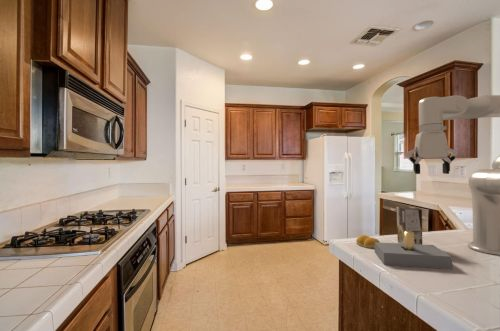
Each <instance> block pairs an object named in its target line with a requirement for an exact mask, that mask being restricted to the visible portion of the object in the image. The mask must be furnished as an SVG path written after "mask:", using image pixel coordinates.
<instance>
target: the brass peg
mask: <svg viewBox="0 0 500 331" xmlns="http://www.w3.org/2000/svg"><path fill="white" fill-rule="evenodd" d="M404 250H405V251H414V232H412V231H404Z"/></svg>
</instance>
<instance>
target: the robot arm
mask: <svg viewBox="0 0 500 331" xmlns="http://www.w3.org/2000/svg"><path fill="white" fill-rule="evenodd" d="M481 118H482V119H483V118H500V95H499V94H497V95H496V94H493V95H492V94H490V95H489V94H488V95H487V94H486V95H482V96H475V97H472V98H467V97H465V96H463V95H456V94H454V95H450V96H442V97H441V96H429V97H425V98H422V99H420V100H419V101H418V133H417V134H416V135H415V141H414V148H413V149H411V150H409V151H407V152H405V155H406V157H407V159H408V160H409V161H410V162H411V164H413V172H414V174H415V175H420V174H421V164H420V161H422V160H437V159H440V160H441V161H442V162H443V163H442V174H445V175H446V174H447V175H448V174H450V172H451V163H452V162H453V161H454V160H455V159H456V157H457V155H458V154H459V152H458V151H457V150H456V149H453V148H450V147H449V145H448V139H447V136H446V132H445V130H447V128H448V127H447V126H445V125H444V121H449V120H450V121H451V120H463V119H465V120H466V119H467V120H468V119H481ZM449 153H450V156H449ZM413 155H414V157H413ZM448 156H449V157H448ZM468 186H469V190H470V194H471V199H472V200H471V202H472V203H471V204H472V241H471V242H468V244H467V247H468V248H470V249H471V250H474V251H476V252H479V253H480V252H481V253H483V254H489V255H490V254H491V255H495V256H496V255H497V256H500V154H499V155H498V156H497V157H495V159H494V160H493V162H492V163H491V168H484V169H478V170H476V171H473V172H472V173H471V174H470V175H469V177H468Z"/></svg>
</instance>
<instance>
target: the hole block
mask: <svg viewBox="0 0 500 331" xmlns="http://www.w3.org/2000/svg"><path fill="white" fill-rule="evenodd" d="M374 253H375V255H376V256H377V258H379V260H380V261H381V263H382V264H383V265H385V266H402V267H414V268H415V267H416V268H418V267H419V268H430V269H432V268H433V269H443V268H446V269H447V270H452V269H453V268H452V267H453V264H452V256H451V255H449V254H448V253H446V252H445V251H443V250H442V249H440V248H438V247H437V246H436V245H433V244H422V245H421V244H414V251H405V250H404V244H401V243H398V242H397V243H396V242H380V241H379V242H375V248H374Z"/></svg>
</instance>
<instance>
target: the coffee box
mask: <svg viewBox="0 0 500 331" xmlns="http://www.w3.org/2000/svg"><path fill="white" fill-rule="evenodd" d="M396 230H397V232H396V234H397V235H396V236H397V243H401V244H404V231H412V232H414V244H421V245H423V209H421V208H418V207H417V206H416V207H415V206H413V205H402V206H401V205H397V206H396Z"/></svg>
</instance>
